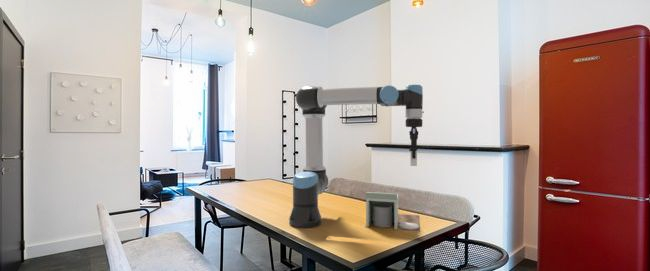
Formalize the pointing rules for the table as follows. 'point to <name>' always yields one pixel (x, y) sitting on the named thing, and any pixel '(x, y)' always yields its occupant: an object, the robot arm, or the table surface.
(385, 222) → the cup
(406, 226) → the coaster
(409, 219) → the board
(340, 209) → the table surface
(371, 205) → the hood
